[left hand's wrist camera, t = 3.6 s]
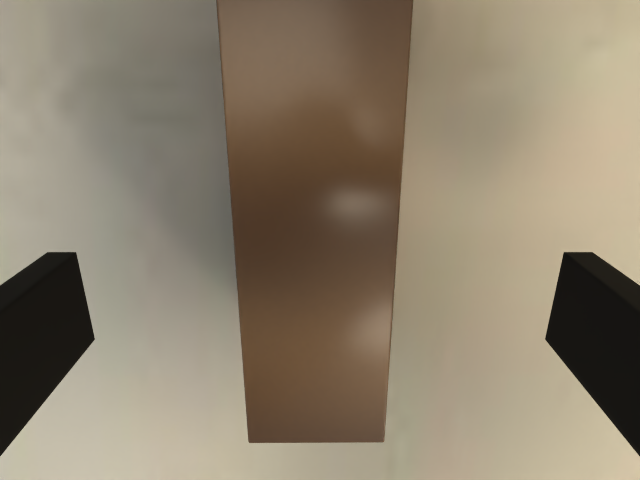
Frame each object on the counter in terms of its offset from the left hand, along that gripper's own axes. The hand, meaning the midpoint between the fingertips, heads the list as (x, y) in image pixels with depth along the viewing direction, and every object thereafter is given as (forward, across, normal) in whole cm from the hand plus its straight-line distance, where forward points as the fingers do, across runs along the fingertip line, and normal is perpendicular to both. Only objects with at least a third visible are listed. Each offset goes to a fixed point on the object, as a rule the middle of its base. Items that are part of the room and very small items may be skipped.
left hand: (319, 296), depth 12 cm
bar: (+11, 0, -19) cm, 21 cm away
